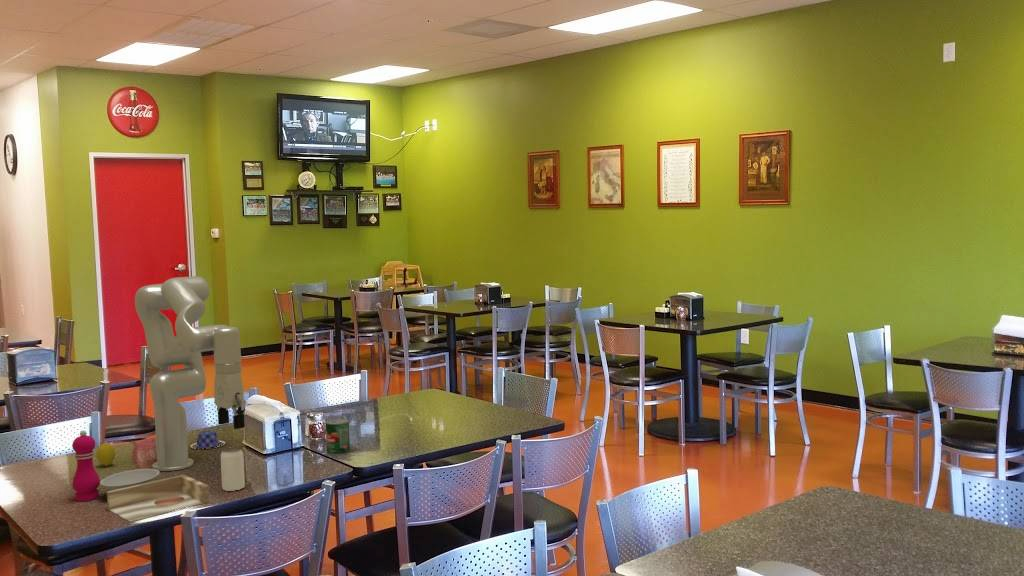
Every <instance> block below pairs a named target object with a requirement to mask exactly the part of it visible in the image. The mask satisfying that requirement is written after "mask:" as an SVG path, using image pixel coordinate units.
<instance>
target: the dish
mask: <svg viewBox="0 0 1024 576" xmlns="http://www.w3.org/2000/svg"><path fill="white" fill-rule="evenodd" d="M160 473H161V471H159V470H156V469H153V468H138V469H131V470H125V471H120V472H117V473H113V474H111V475H108V476H106V477H104V478H102V479H100V485H99V486H103V487H105V488H106V490H108V491H112V490H117V489H121V488H126V487H130V486H135V485H139V484H144V483H148V482H152V481H155V480H156V478H157V477H158V476H159V475H160Z"/></svg>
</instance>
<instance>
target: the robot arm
mask: <svg viewBox="0 0 1024 576" xmlns="http://www.w3.org/2000/svg"><path fill="white" fill-rule="evenodd" d="M210 293H211V290H210V285H209V283H208V282H207V280H206V279H205V278H203V277H202V276H198V275H197V276H196V275H195V276H193V275H192V276H177V277H173V278H169V279H167V280H165V281H164V282H163V283H157V284H155V283H154V284H148V285H143V286H142V287H139V289H137V290H136V293H135V297H134V307H135V311H136V313H137V315H138V318H139V320H140V323H141V325H142V327H143V330H144V335H145V342H146V345H147V346H146V347H147V350H148V357H149V360H150V362H151V363H150V364H152V366H153V367H155V368H168V367H169V368H170V367H177V366H183V367H184V368H177V369H168V370H164V371H163V370H162V371H160V372H156V374H153V376H152V377H151V379H150V381H149V390H150V394H151V398H152V403H153V409H154V424H155V425H154V426H155V446H156V460H157V461H155V462H154V463H152V464H151V467H152V468H151V469H156V470H159V472H172V471H179V470H184V469H186V468H190V467H192V466H193V465H194V460H193V458H190V457H189V449H188V447H189V446H188V428H187V427H188V426H187V413H186V409H185V408H184V406H183V405H182V404H181V403H180V402H179V400H180V399H184V398H189V397H194V396H199V395H202V394H203V393H204V392H205V390H206V388H207V378H206V373H205V367H204V361H203V357H202V353H203V352H209V351H210V352H211V351H213V358H214V359H213V360H214V375H215V376H214V385H213V386H214V390H213V393H214V395H213V396H214V405H215V406H216V411H217V423H218V425H219V426H220V425H225V424H226V425H227V424H229V423H230V414H229V413H230V412H229V411H230V410H229V409H231V410H232V412H233V414H234V415H232V419H233V429H234V430H239V429H242V428H245V427H246V425H245V424H246V423H245V413H246V411H245V410H246V403H247V401H246V399H245V396H244V386H243V379H242V372H243V371H242V353H241V352H242V351H241V337H240V335H241V334H240V330H239V328H238V327H237V326H236V327H235V326H228V325H226V324H213V325H204V326H203V325H202V326H195V327H194V326H192V325H193V324H195V323H196V322H198V321H199V320H201V318H203V316H204V315H205V312H206V304H205V303H204V302H206V301H207V300H208V299H209V297H210ZM163 310H164V311H165V310H173V311H174V313H175V314H176V315H177V316H176V318H175V319H176V320H175V324H174V327H175V333H174V329H173V326H172V325H173V324H172V322H171V320H170V318H168V317H167V316H166V315H165V314H164V313H162V312H161V311H163ZM175 334H176V336H175Z"/></svg>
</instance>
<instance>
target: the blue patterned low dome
mask: <svg viewBox="0 0 1024 576" xmlns="http://www.w3.org/2000/svg"><path fill="white" fill-rule="evenodd" d="M219 442H222V443H224V444H223V445H221V446H220V444H219ZM195 444H196V447H198V449H199V448H202V449H204V448H206V449H205V450H209V449H210V450H211V448H209V447H214V448H213V449H215V448H219V447H222V446H224V445H225V444H226V441H224V440H219V438H218V434H217V432H216V431H215V430H204V431H200V432H199V433H198V435H197V439H196V442H195V443H192V444H191V445H190V446H189V447H190V448H192V449H195V450H197V449H196V448H193V447H192V446H193V445H195ZM217 445H219V446H217ZM215 446H217V447H215Z"/></svg>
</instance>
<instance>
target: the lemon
mask: <svg viewBox="0 0 1024 576" xmlns="http://www.w3.org/2000/svg"><path fill="white" fill-rule="evenodd" d="M115 457H116V451H115V447H114V446H113V445H112V444H110V443H108V442H104V443H101V444H100V445H99V447H97V450H96V460H97V461H98V463H99V464H101V465H103V466H105V467H108V466H109V465H110V464H112V463H113V462H114V460H115V459H116V458H115Z"/></svg>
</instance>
